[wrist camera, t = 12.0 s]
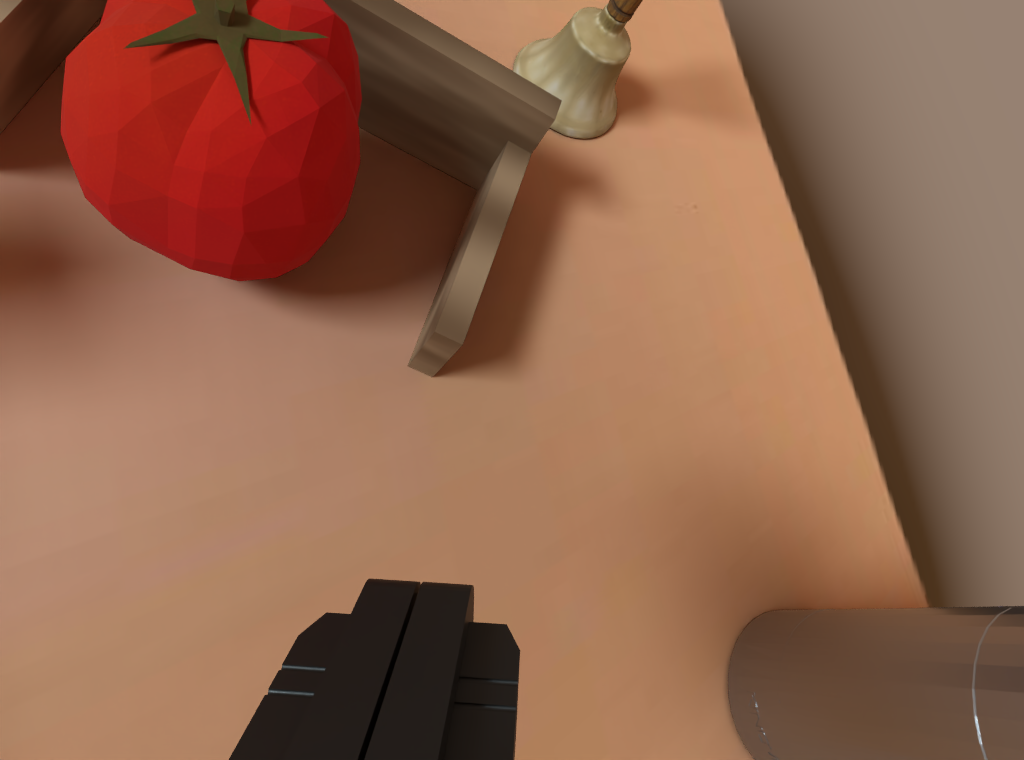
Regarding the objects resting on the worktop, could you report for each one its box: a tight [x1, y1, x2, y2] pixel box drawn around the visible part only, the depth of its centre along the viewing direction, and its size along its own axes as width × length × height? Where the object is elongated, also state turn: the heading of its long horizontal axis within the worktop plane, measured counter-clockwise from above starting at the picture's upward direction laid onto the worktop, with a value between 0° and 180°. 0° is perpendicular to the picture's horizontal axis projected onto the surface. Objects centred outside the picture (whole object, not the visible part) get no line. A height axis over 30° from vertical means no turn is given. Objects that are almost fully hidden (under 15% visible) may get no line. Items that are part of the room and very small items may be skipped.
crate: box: [0, 0, 562, 377], centre depth 33 cm, size 14×25×8 cm, turn 73°
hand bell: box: [513, 0, 642, 139], centre depth 41 cm, size 8×8×16 cm
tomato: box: [60, 0, 362, 281], centre depth 29 cm, size 13×13×13 cm
